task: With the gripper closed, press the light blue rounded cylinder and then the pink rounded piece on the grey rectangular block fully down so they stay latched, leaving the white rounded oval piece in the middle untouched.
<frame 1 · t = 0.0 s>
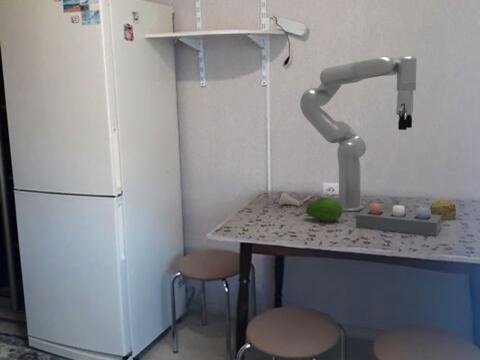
hand: (405, 128, 206), 37 cm above the table, tool pointing down, fingers open, 9 cm apart
white rounded oval piece: (398, 212, 191), point 6 cm above the table, slide at 0.0 cm
fruit: (324, 221, 206), on the table
light blue rounded cylinder: (422, 214, 187), point 6 cm above the table, slide at 0.0 cm
pink rounded piece: (375, 210, 196), point 6 cm above the table, slide at 0.0 cm
rock: (442, 218, 204), on the table
grey rectangular block: (398, 227, 192), on the table
toilet paper hanger: (295, 203, 242), on the table
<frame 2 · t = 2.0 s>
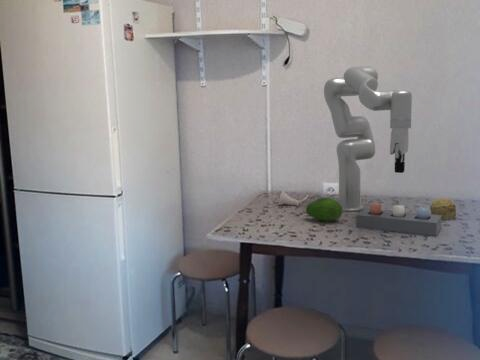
hand: (399, 171, 188), 22 cm above the table, tool pointing down, fingers closed
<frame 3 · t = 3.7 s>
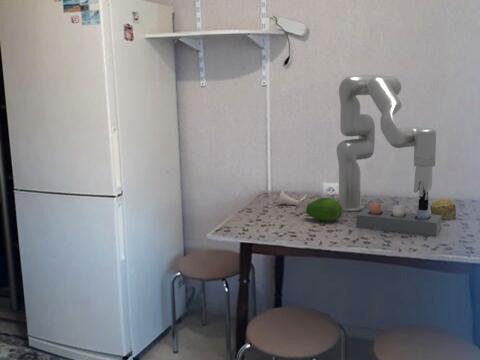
hand: (423, 209, 186), 8 cm above the table, tool pointing down, fingers closed
light blue rounded cylinder: (422, 215, 187), point 6 cm above the table, slide at 0.4 cm, touching gripper
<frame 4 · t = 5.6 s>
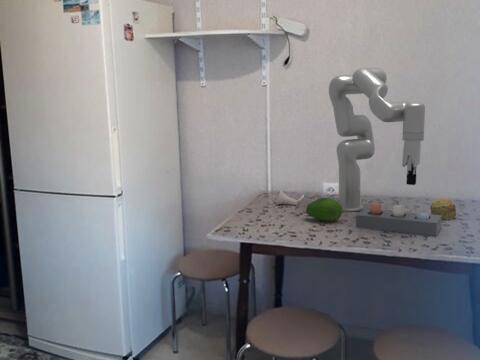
hand: (411, 184, 187), 18 cm above the table, tool pointing down, fingers closed
light blue rounded cylinder: (422, 220, 187), point 4 cm above the table, slide at 2.2 cm
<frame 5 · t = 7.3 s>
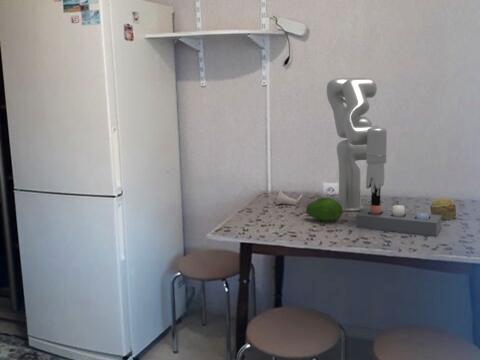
hand: (375, 204, 195), 8 cm above the table, tool pointing down, fingers closed
pink rounded piece: (375, 211, 196), point 6 cm above the table, slide at 0.2 cm, touching gripper
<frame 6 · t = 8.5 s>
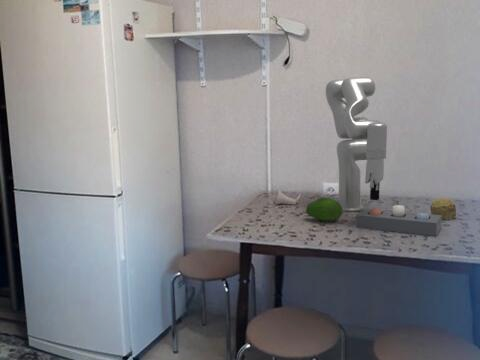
hand: (374, 199, 196), 10 cm above the table, tool pointing down, fingers closed
pink rounded piece: (375, 215, 196), point 4 cm above the table, slide at 2.2 cm
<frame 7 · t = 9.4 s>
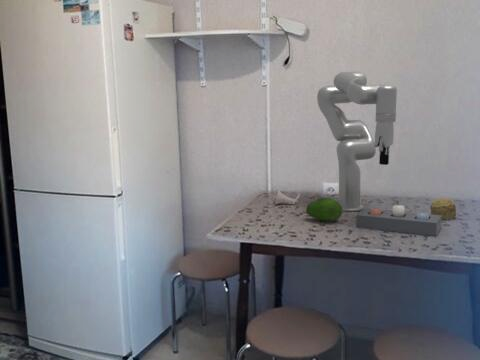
hand: (383, 164, 195), 24 cm above the table, tool pointing down, fingers closed
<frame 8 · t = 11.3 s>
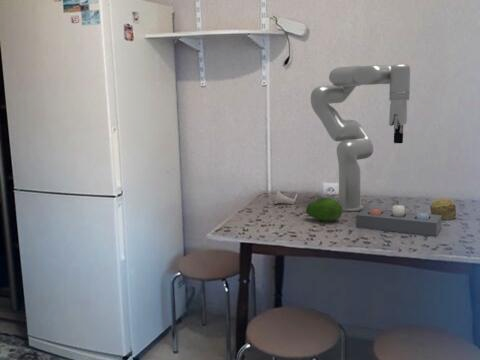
hand: (398, 142, 196), 32 cm above the table, tool pointing down, fingers closed
at the end: light blue rounded cylinder slide at 2.2 cm; pink rounded piece slide at 2.2 cm; white rounded oval piece slide at 0.0 cm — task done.
